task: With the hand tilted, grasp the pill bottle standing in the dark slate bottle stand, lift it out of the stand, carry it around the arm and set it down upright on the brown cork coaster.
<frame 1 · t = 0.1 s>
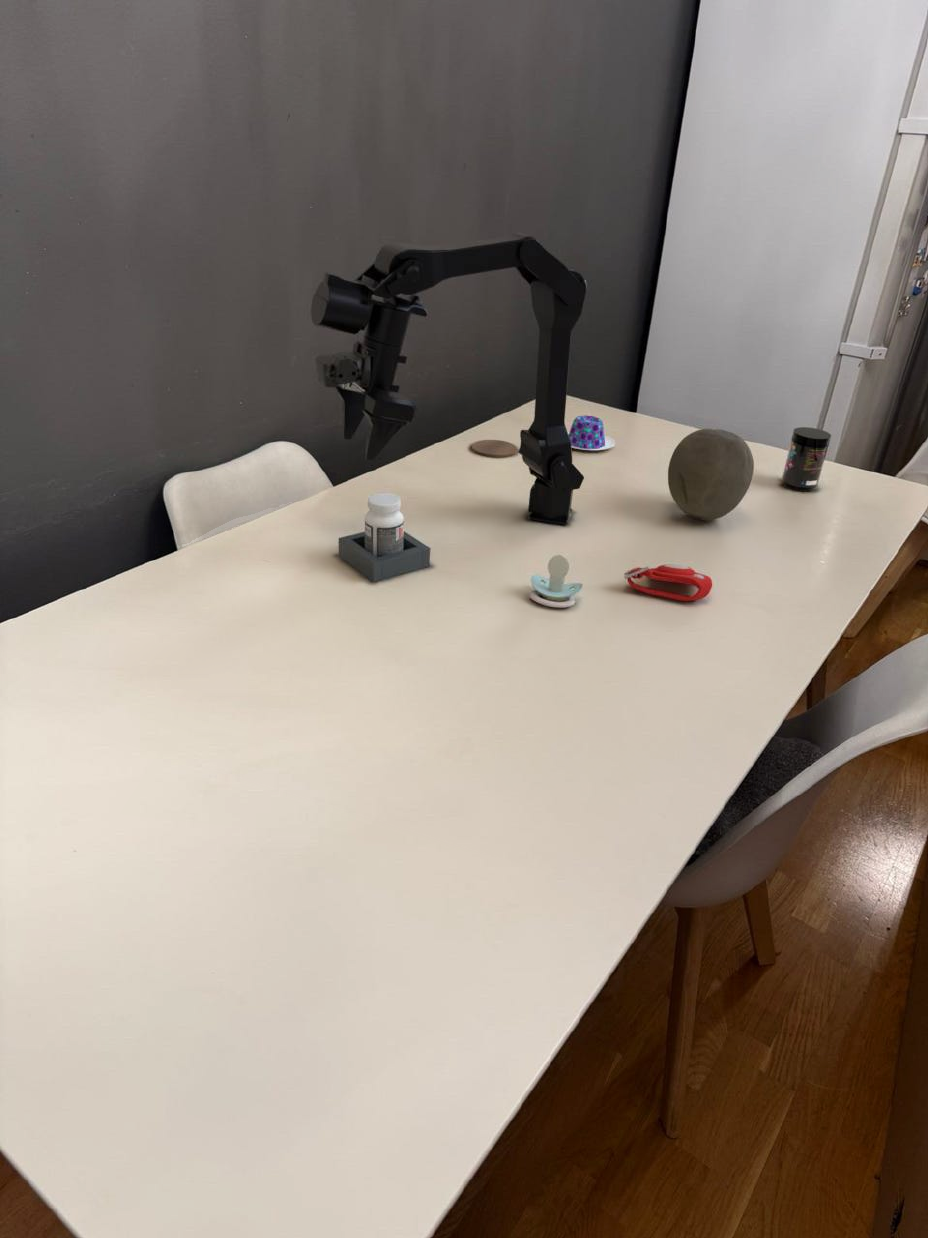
hand: (357, 449, 128), 15 cm above the table, tool pointing down, fingers open, 9 cm apart
coaster: (494, 449, 177), on the table
pacifier: (553, 600, 124), on the table
grey brown round stone: (701, 516, 154), on the table
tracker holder: (663, 588, 129), on the table
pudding: (585, 444, 183), on the table
bottle stand: (383, 561, 131), on the table
pill bottle: (383, 562, 131), resting in bottle stand
supplement container: (798, 486, 169), on the table
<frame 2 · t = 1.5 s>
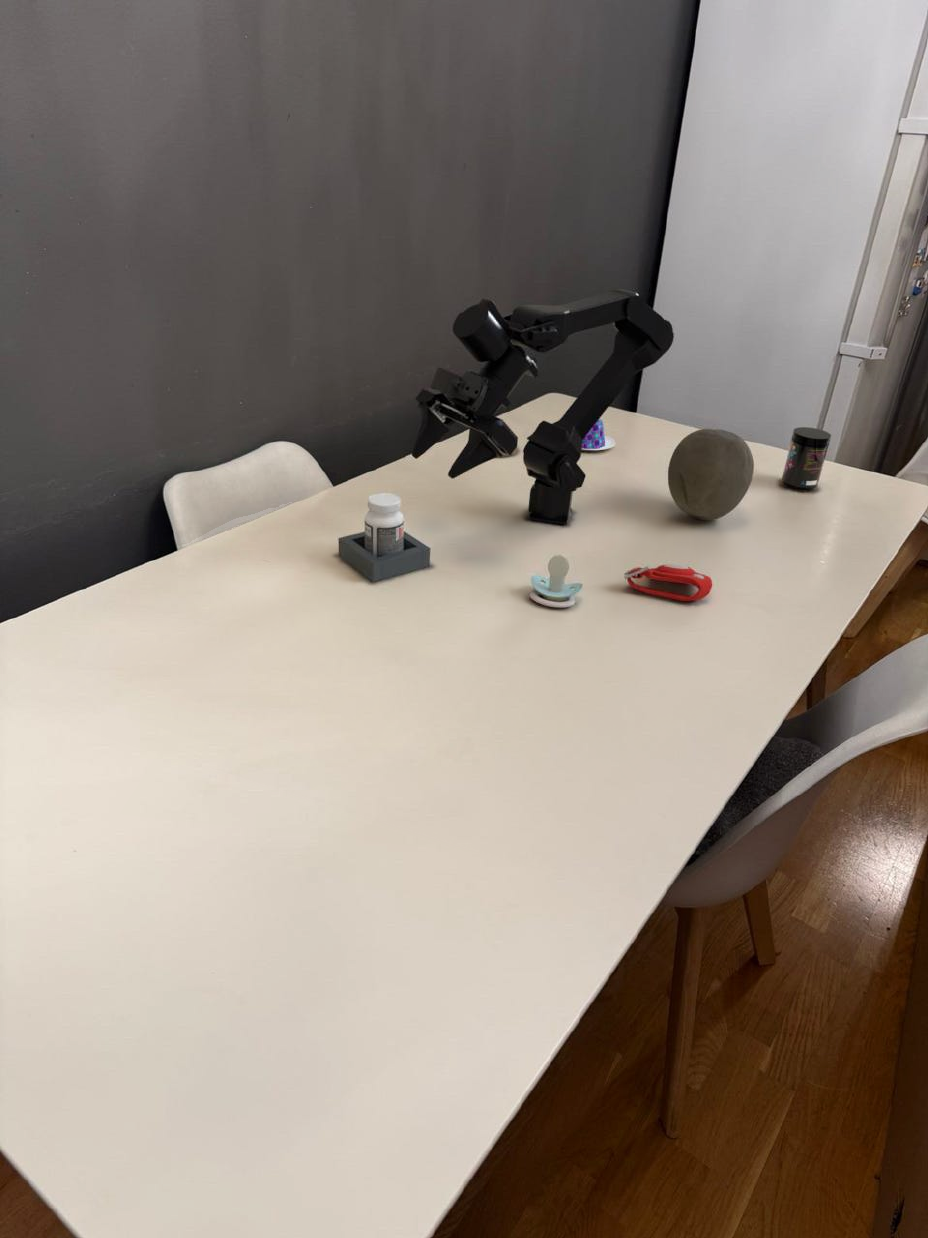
hand: (431, 466, 129), 13 cm above the table, tool tilted 45°, fingers open, 9 cm apart
nothing on the table moved.
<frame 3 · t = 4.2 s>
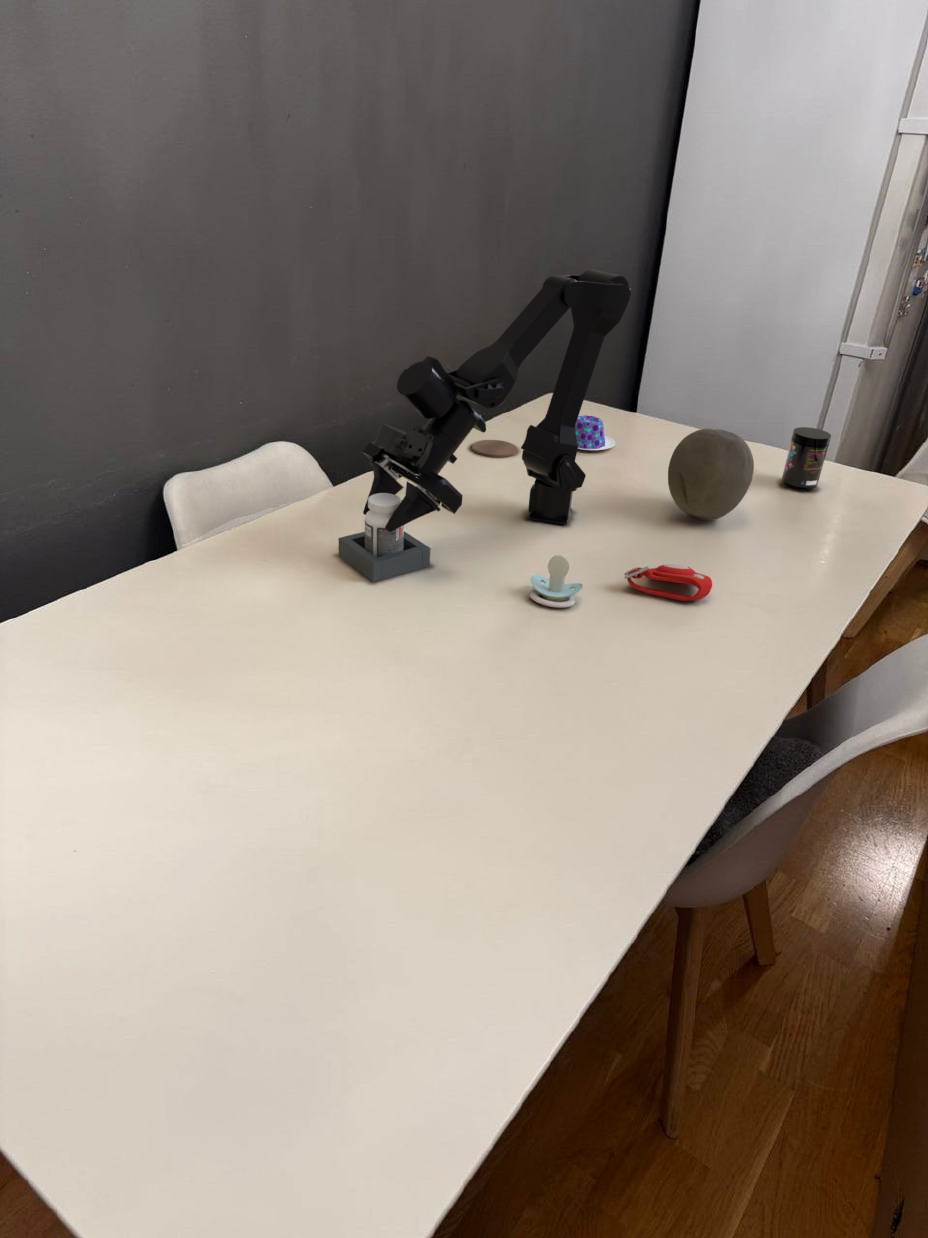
hand: (376, 522, 127), 7 cm above the table, tool tilted 45°, fingers closed on pill bottle, 6 cm apart
pill bottle: (383, 562, 131), resting in bottle stand, touching gripper
everything else where it was.
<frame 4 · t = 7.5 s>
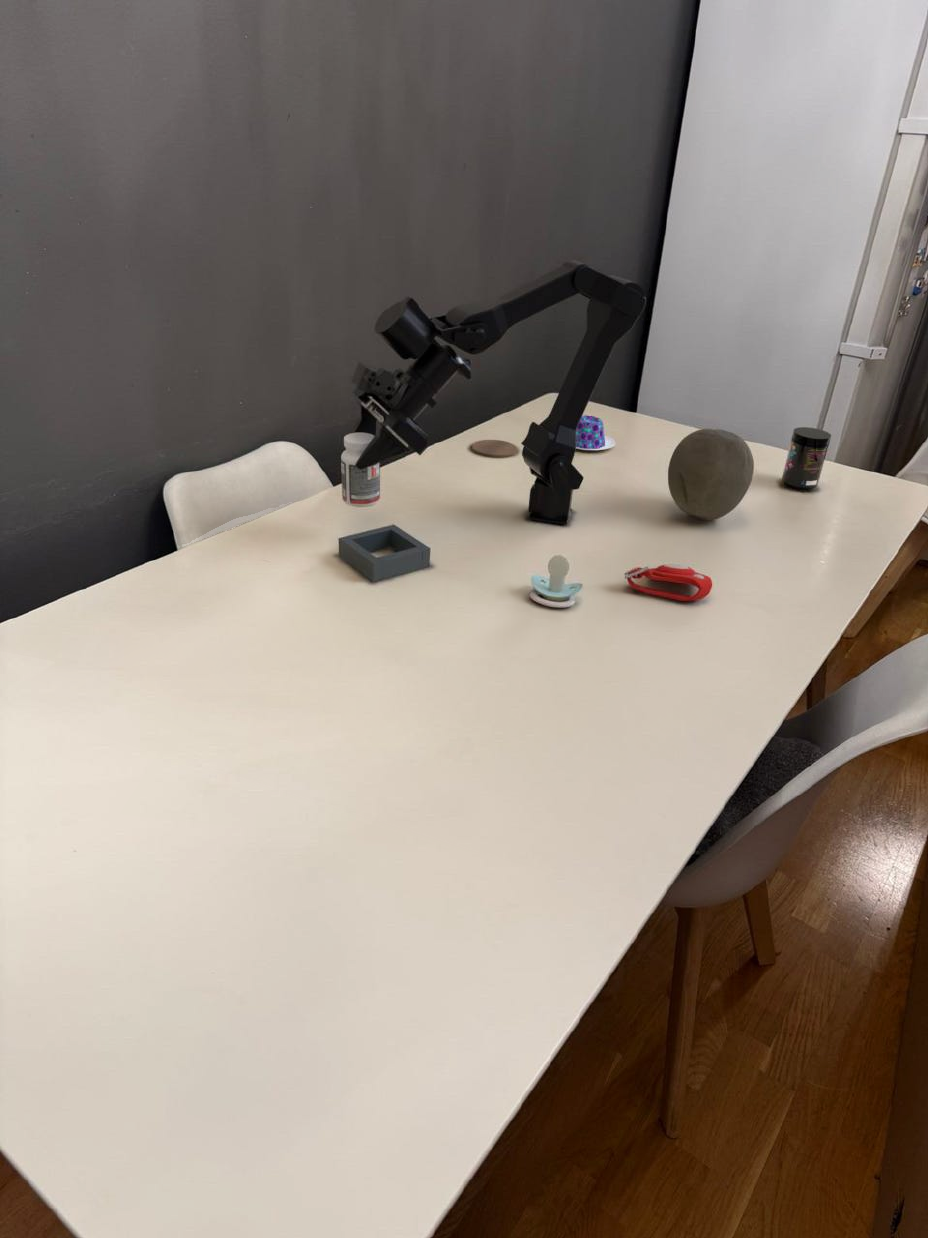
hand: (351, 460, 130), 13 cm above the table, tool tilted 45°, fingers closed on pill bottle, 6 cm apart
pill bottle: (361, 502, 134), point 6 cm above the table, touching gripper
everything else where it was.
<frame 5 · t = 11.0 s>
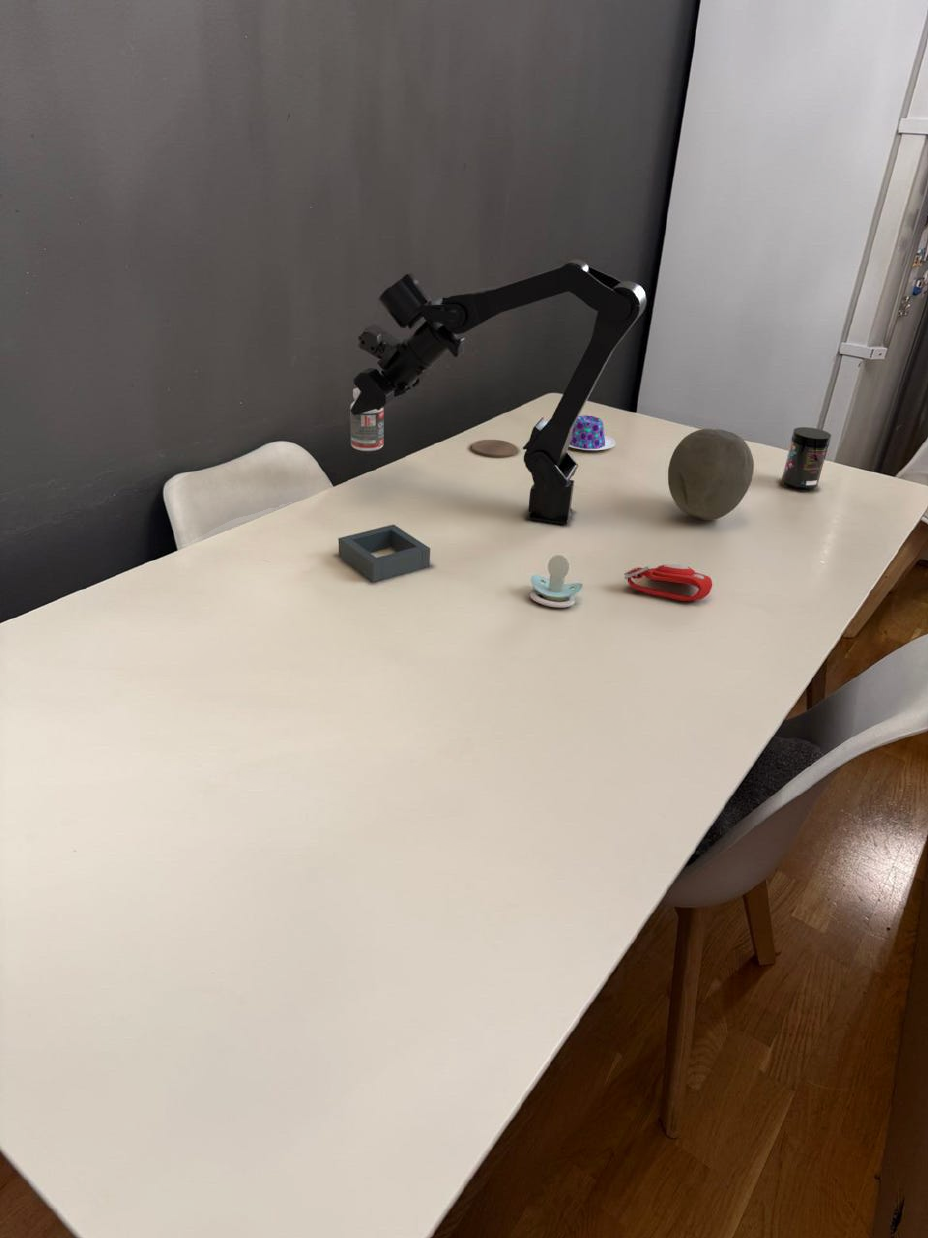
hand: (359, 408, 152), 13 cm above the table, tool tilted 45°, fingers closed on pill bottle, 6 cm apart
pill bottle: (367, 447, 155), point 6 cm above the table, touching gripper
everything else where it was.
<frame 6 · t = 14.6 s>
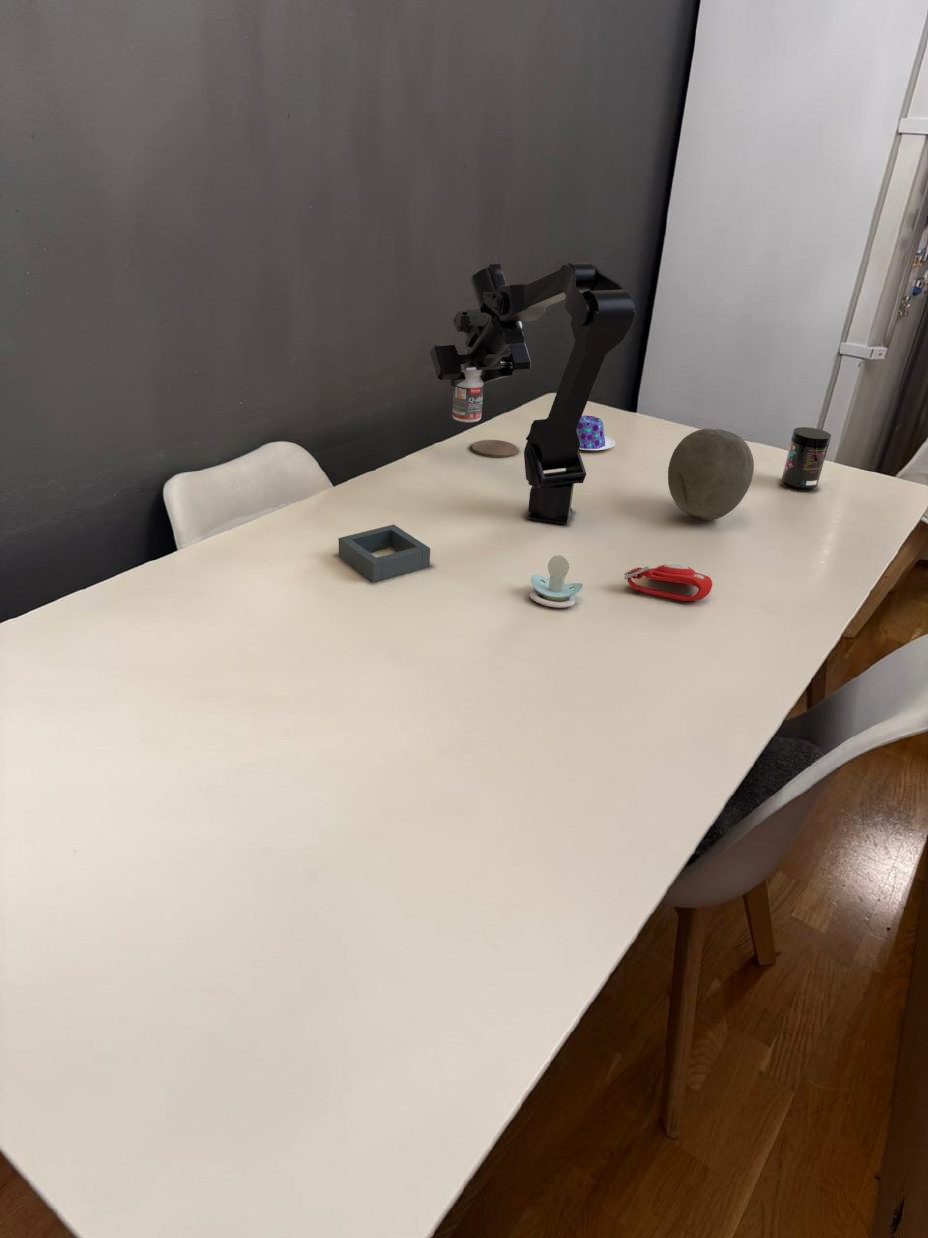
hand: (465, 382, 169), 13 cm above the table, tool tilted 45°, fingers closed on pill bottle, 6 cm apart
pill bottle: (466, 419, 172), point 6 cm above the table, touching gripper
everything else where it was.
when the fingers open (7 cm above the table, at t = 17.8 s): pill bottle stays where it is, resting on coaster.
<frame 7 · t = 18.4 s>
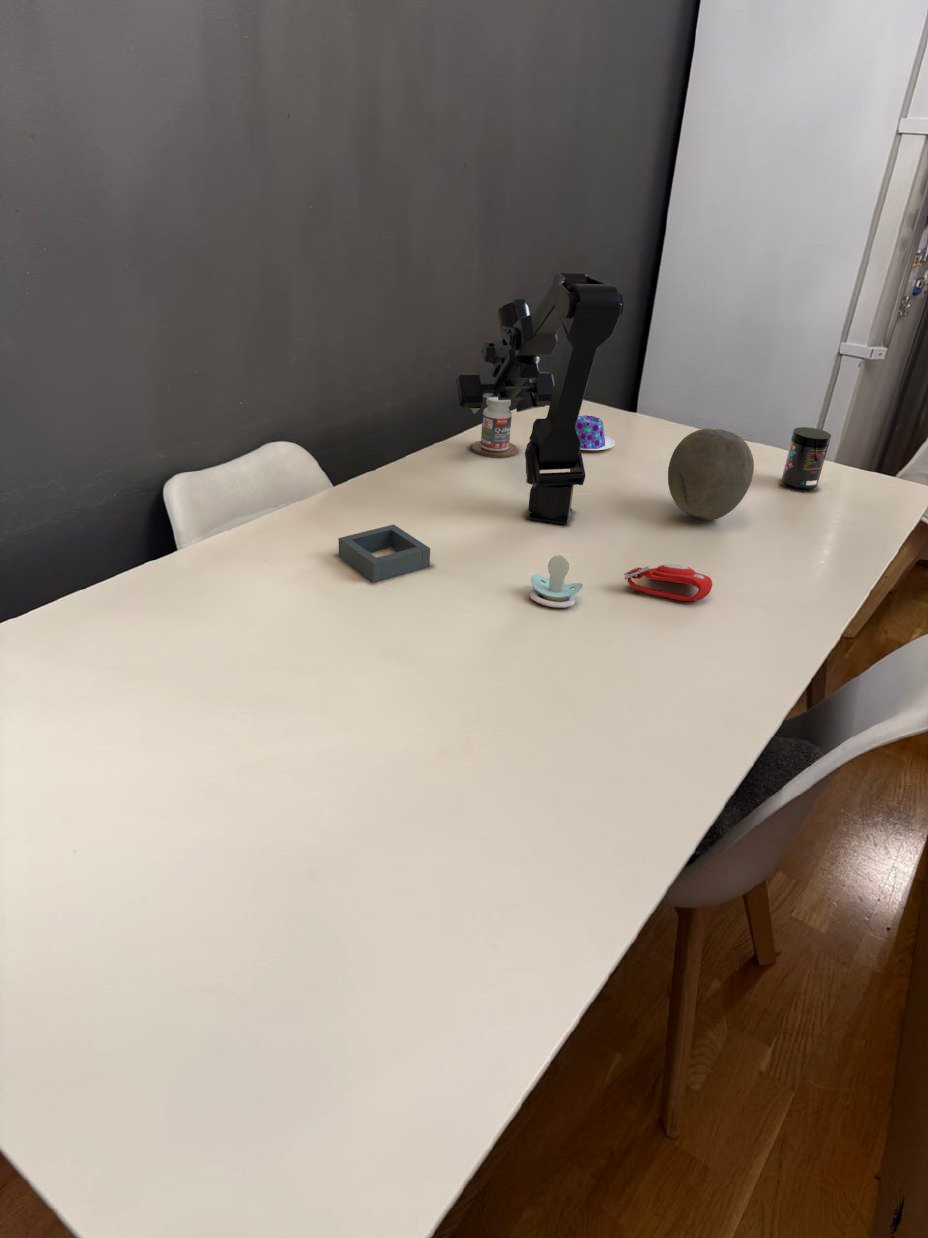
hand: (495, 410, 174), 8 cm above the table, tool tilted 45°, fingers open, 9 cm apart
pill bottle: (494, 448, 177), resting on coaster
everything else where it was.
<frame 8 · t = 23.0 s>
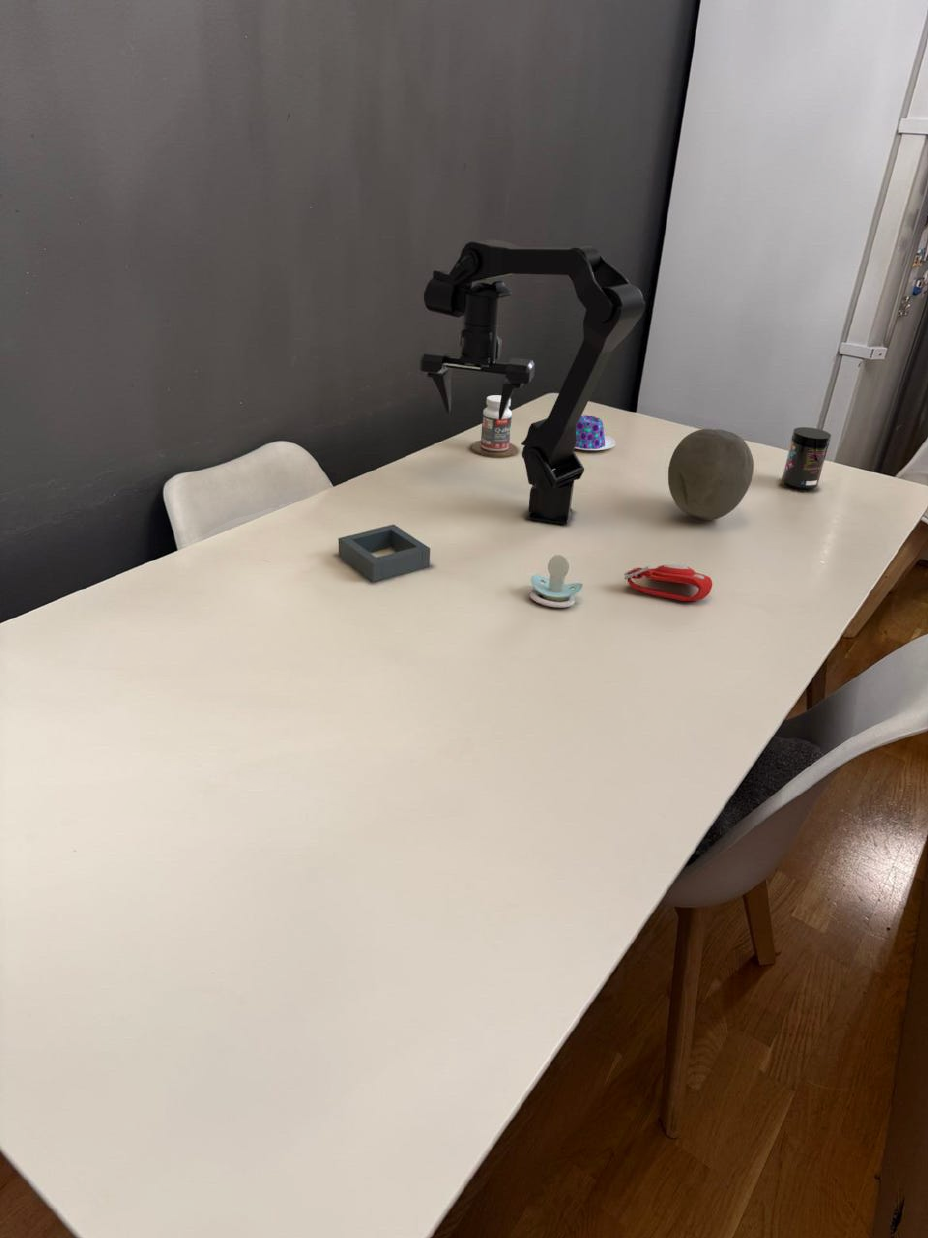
hand: (474, 415, 153), 13 cm above the table, tool pointing down, fingers open, 9 cm apart
nothing on the table moved.
at the end: pill bottle 0.1 cm off-centre on the coaster, point 0.3 cm above the coaster's base; pill bottle tilted 0°; the gripper is holding nothing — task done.
